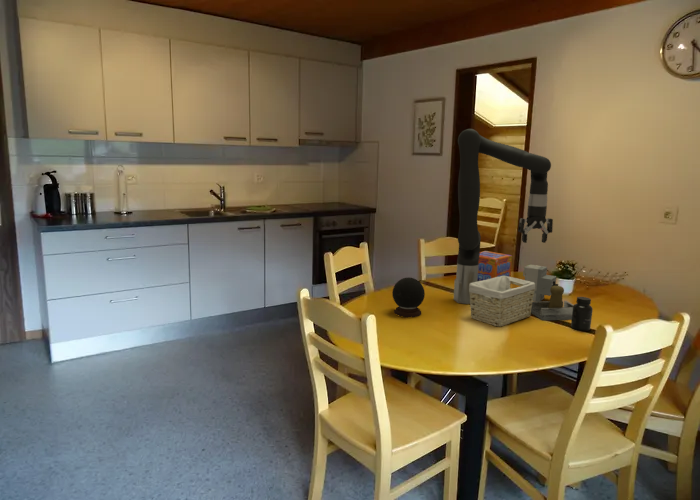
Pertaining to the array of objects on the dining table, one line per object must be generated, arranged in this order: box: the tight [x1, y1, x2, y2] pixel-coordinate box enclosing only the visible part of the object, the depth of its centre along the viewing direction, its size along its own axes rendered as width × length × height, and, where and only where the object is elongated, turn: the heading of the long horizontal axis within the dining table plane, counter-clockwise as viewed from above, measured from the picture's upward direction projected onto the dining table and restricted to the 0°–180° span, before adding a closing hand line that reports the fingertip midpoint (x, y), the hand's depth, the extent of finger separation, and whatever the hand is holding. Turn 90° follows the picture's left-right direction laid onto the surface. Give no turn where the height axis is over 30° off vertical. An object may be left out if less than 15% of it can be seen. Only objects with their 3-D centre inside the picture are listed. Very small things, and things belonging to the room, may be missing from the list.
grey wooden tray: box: [531, 300, 575, 321], centre depth 206 cm, size 16×12×4 cm
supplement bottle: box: [570, 296, 594, 332], centre depth 190 cm, size 7×7×12 cm
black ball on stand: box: [391, 277, 426, 318], centre depth 205 cm, size 13×13×15 cm
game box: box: [477, 250, 513, 282], centre depth 253 cm, size 16×16×16 cm
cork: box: [548, 285, 565, 308], centre depth 205 cm, size 6×6×11 cm
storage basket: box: [469, 276, 535, 327], centre depth 201 cm, size 24×16×15 cm
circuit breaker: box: [522, 264, 559, 302], centre depth 227 cm, size 8×14×15 cm, turn 53°
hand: (534, 242), depth 214 cm, fingers open, 8 cm apart
